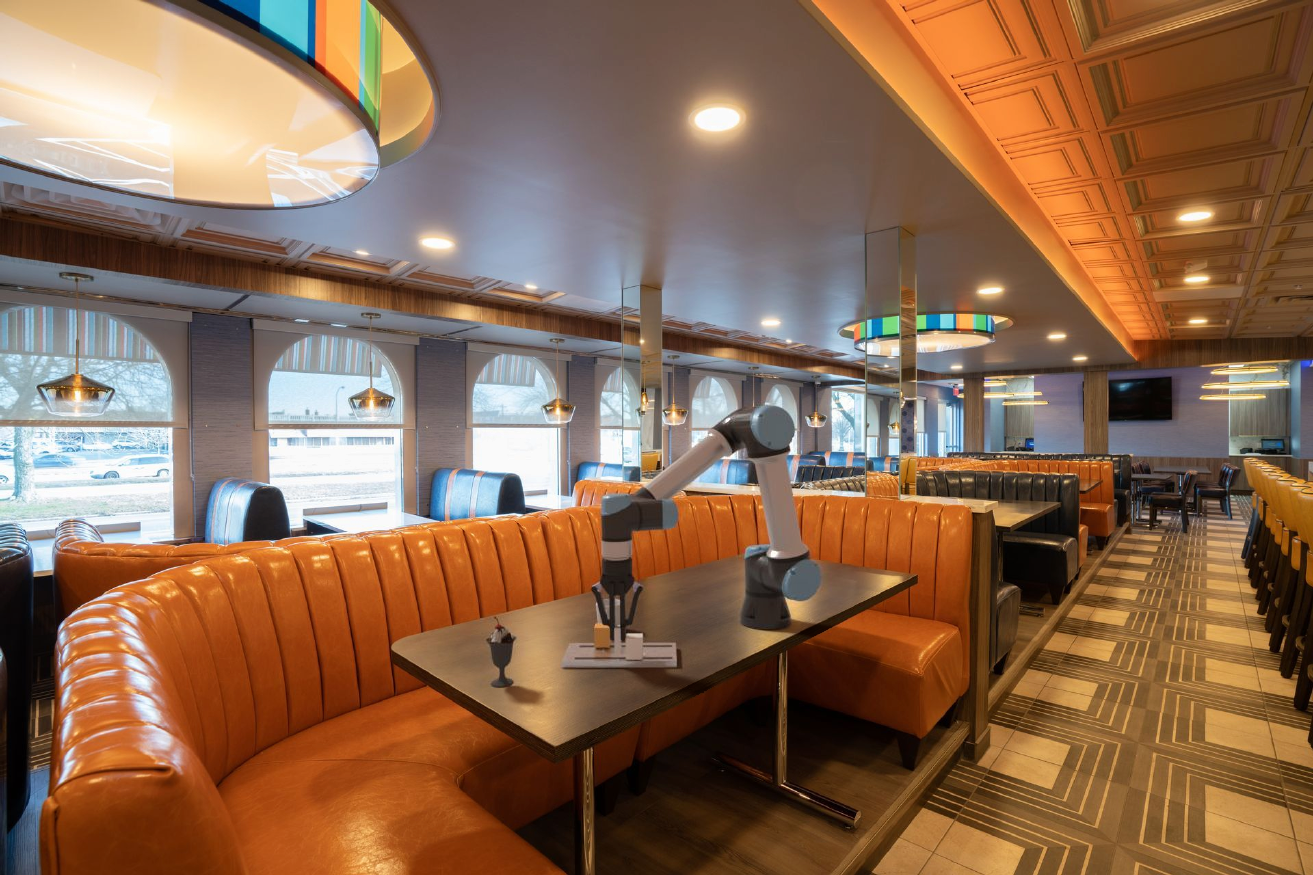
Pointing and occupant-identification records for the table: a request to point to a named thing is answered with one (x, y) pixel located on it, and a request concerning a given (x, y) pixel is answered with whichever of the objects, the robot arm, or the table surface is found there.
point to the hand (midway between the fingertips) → (618, 652)
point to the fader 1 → (601, 635)
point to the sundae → (501, 653)
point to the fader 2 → (634, 646)
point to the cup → (606, 604)
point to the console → (618, 656)
